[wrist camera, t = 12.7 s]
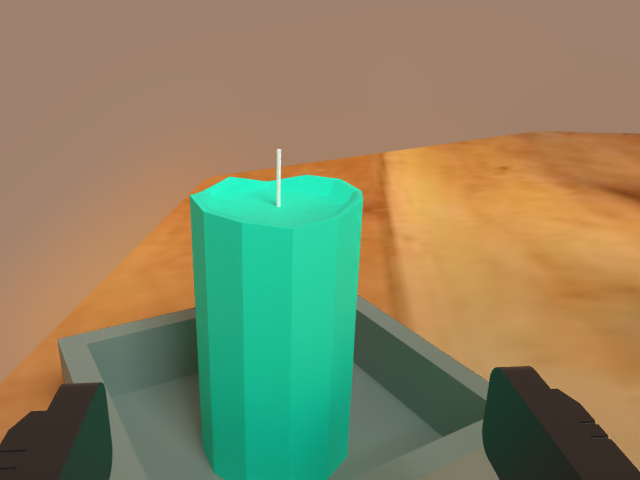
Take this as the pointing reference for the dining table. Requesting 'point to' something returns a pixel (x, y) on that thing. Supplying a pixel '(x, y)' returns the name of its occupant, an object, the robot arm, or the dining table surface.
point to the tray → (365, 408)
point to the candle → (276, 323)
